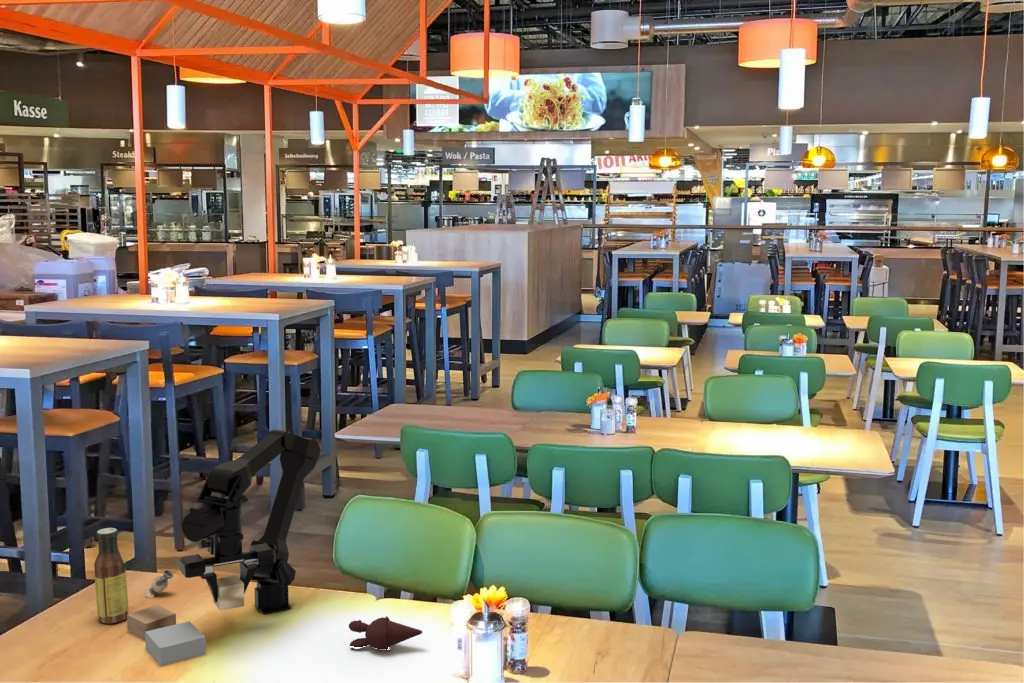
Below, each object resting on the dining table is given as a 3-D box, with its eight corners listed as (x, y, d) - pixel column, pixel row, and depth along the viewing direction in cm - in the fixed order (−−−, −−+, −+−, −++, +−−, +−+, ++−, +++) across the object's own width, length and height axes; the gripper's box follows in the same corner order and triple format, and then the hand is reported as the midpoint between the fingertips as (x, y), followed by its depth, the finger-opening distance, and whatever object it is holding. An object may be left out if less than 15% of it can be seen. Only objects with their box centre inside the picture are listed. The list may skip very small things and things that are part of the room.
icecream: (423, 611, 208) (351, 615, 208) (419, 617, 201) (344, 621, 201) (425, 645, 207) (353, 649, 208) (420, 652, 200) (346, 656, 200)
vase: (178, 591, 231) (177, 567, 230) (166, 602, 226) (165, 578, 225) (157, 589, 232) (155, 565, 231) (144, 599, 227) (143, 575, 226)
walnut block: (157, 622, 215) (157, 604, 214) (176, 631, 211) (175, 613, 210) (127, 632, 210) (126, 614, 209) (146, 642, 205) (145, 624, 205)
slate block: (189, 639, 207) (189, 621, 207) (205, 655, 200) (205, 637, 200) (145, 650, 202) (145, 631, 201) (160, 667, 195) (160, 648, 194)
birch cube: (237, 597, 213) (236, 575, 212) (244, 606, 209) (243, 583, 208) (213, 602, 210) (213, 579, 210) (220, 610, 206) (219, 587, 206)
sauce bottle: (134, 614, 218) (131, 526, 215) (120, 626, 212) (117, 536, 209) (105, 612, 219) (102, 524, 216) (90, 624, 213) (87, 534, 210)
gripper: (259, 510, 219) (260, 578, 221) (171, 522, 209) (173, 594, 211) (276, 524, 210) (276, 596, 212) (185, 538, 200) (186, 613, 202)
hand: (228, 599), depth 210 cm, fingers closed on birch cube, 5 cm apart
